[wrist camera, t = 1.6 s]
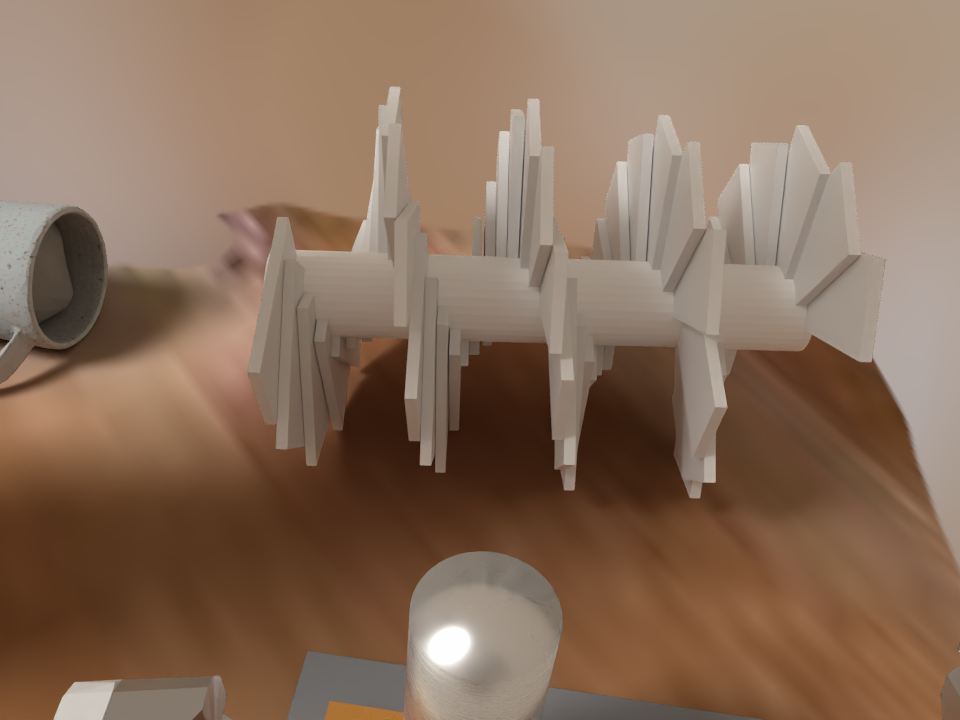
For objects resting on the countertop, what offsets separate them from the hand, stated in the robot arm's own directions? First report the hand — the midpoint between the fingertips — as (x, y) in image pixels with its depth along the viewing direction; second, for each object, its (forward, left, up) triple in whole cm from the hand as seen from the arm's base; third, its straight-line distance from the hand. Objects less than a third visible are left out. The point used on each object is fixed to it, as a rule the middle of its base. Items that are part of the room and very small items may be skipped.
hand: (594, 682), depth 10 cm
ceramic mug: (-13, +41, -24) cm, 49 cm away
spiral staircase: (+12, +27, -24) cm, 38 cm away
